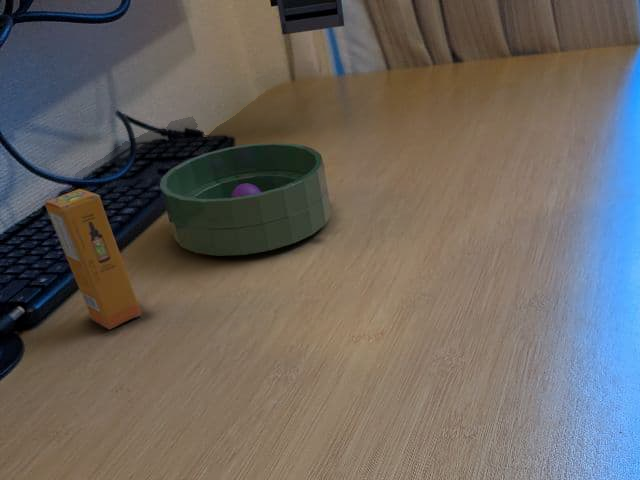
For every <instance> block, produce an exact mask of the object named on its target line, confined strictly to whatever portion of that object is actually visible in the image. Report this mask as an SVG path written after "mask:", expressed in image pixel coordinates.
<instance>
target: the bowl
mask: <svg viewBox="0 0 640 480" xmlns="http://www.w3.org/2000/svg"><path fill="white" fill-rule="evenodd" d="M245 183H248V184H252V185H254V186H256V187H257V188H258V189H259V190H260V191H261V192H262V193H258V194H254V195H247V196H241V197H234V198H231V195H232V192H233V190H234V189H235V188H236V187H237V186H239V185H241V184H245ZM159 190H160V194H161V197H162V200H163V204H164V207H165V210H166V213H167V218H168V222H169V224H170V228H171V231H172V235H173V238H174V240H175V241H176V242H177V244H178V245H179V246H180V247H181V248H182V249H185V250H187V251H190V252H192V253H195V254H200V255H206V256H208V255H209V256H215V257H218V256H219V257H221V256H225V257H226V256H245V255H246V256H247V255H253V254H259V253H265V252H270V251H273V250H277V249H281V248H284V247H287V246H290V245H292V244H295V243H297V242H300V241H301V240H304V239H306V238H308V237H310V236H312V235H315V233H316V232H318V231H319V230H320V229H322V228H324V226H326V225H327V223H328V221H329V219H330V218H331V215H332V210H331V204H330V197H329V196H330V195H329V190H328V183H327V176H326V171H325V164H324V160H323V156H322V154H321V153H320V152H319V151H317V150H315V149H314V148H313V147H310V146H305V145H301V144H297V143H287V142H286V143H285V142H263V143H262V142H261V143H249V144H243V145H237V146H231V147H225V148H221V149H217V150H213V151H209V152H205V153H203V154H200V155H197V156H194V157H192V158H189V159H186V160H185V161H183V162H181V163H179V164H178V165H176V166H174V167H172V168H171V169H169V170H168V171H167V172H166V173H165V174H164V175H163V176H162V177H161V178H160V184H159Z"/></svg>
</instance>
